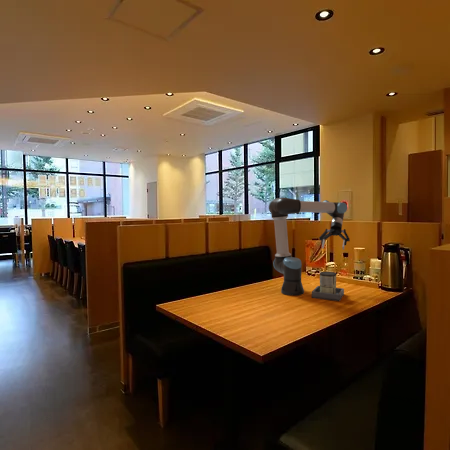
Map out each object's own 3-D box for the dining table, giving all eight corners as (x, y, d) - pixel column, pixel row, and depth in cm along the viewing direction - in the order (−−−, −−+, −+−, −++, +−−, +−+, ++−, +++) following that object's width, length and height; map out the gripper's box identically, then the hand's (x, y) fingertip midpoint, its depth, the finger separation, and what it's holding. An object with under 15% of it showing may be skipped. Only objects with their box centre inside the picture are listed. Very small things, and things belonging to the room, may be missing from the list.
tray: (311, 297, 202) (311, 291, 202) (317, 291, 217) (317, 285, 217) (339, 301, 194) (339, 294, 194) (343, 294, 209) (343, 288, 209)
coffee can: (318, 292, 211) (318, 271, 211) (334, 292, 210) (334, 271, 210) (321, 296, 201) (321, 274, 201) (338, 296, 200) (338, 274, 199)
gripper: (355, 228, 227) (352, 252, 214) (319, 228, 239) (315, 250, 226) (354, 221, 222) (351, 245, 209) (318, 221, 234) (313, 243, 221)
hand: (332, 248), depth 218 cm, fingers open, 13 cm apart
